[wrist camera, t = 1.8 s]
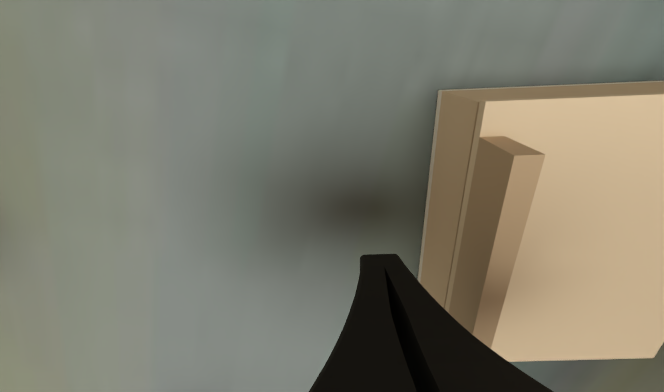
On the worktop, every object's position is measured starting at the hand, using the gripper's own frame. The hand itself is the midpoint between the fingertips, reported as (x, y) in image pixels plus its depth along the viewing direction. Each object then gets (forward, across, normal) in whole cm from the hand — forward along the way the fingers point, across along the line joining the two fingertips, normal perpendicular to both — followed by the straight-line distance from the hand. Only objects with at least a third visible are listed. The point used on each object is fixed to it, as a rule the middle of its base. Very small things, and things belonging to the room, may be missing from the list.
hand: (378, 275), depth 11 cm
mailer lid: (+1, -8, 0) cm, 8 cm away
